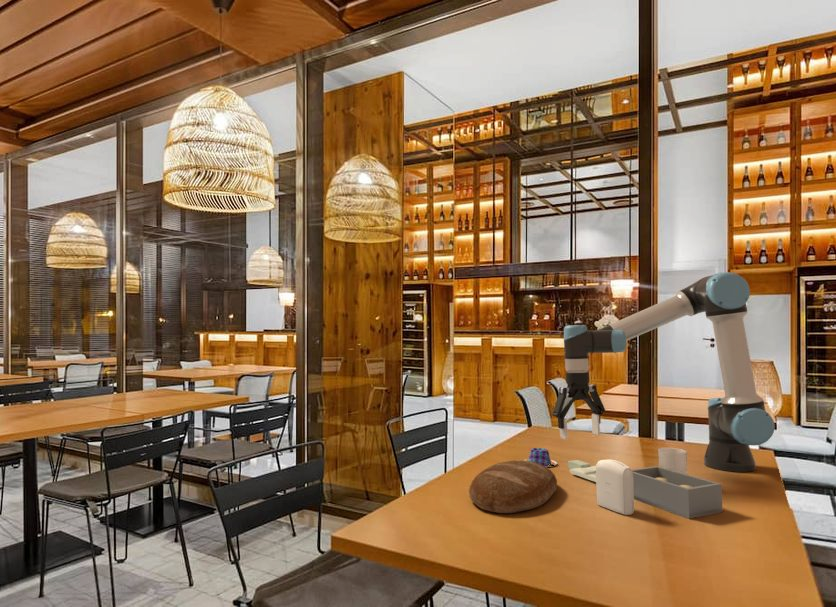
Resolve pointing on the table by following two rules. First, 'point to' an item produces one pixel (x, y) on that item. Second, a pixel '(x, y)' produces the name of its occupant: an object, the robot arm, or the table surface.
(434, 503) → the table surface
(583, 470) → the lid
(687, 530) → the table surface
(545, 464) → the patterned hat
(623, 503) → the photo printer
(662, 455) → the white cup
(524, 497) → the bread
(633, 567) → the table surface
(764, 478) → the table surface
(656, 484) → the tub
